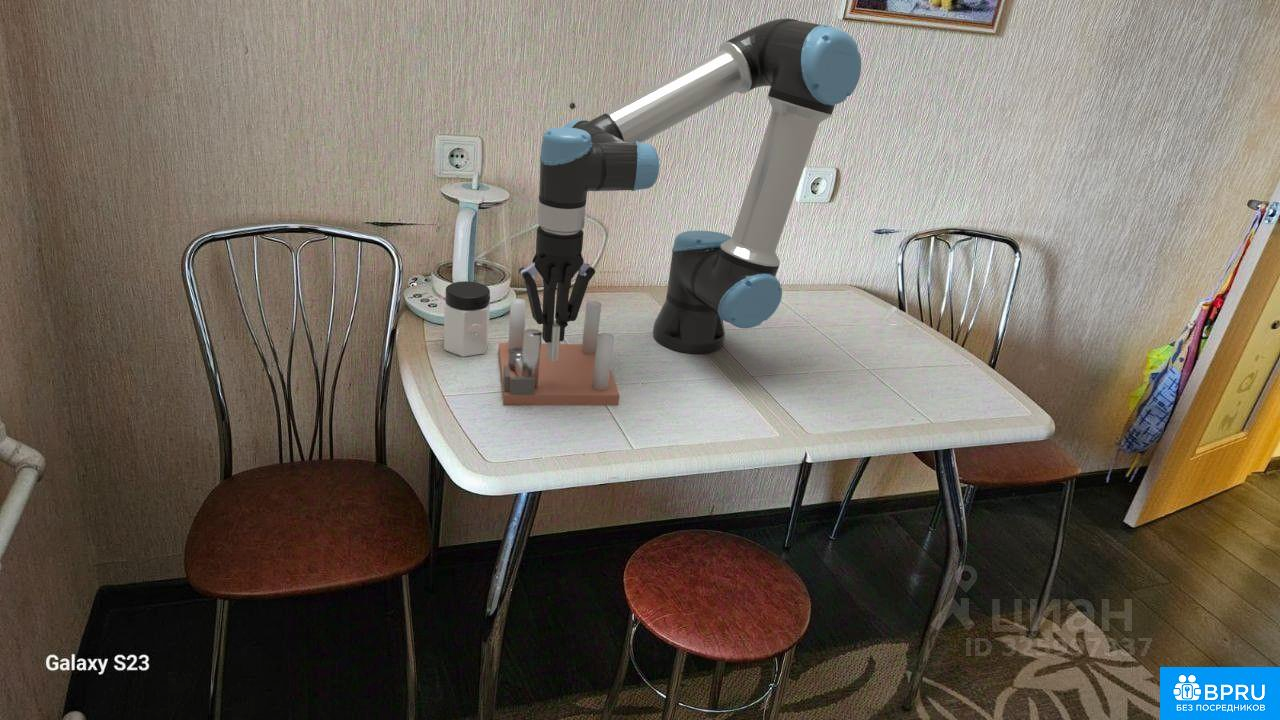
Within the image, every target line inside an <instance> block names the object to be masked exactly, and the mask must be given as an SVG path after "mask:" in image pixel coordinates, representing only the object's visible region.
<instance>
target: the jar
mask: <svg viewBox="0 0 1280 720" xmlns="http://www.w3.org/2000/svg"><path fill="white" fill-rule="evenodd" d="M490 305H491V290H490V288H489V286H486V285H485V284H483V283H480V282H476V281H456V282H453V283H450V284H448V285H447V286H446V287H445V303H444V315H443V316H444V317H443V318H444V319H443V320H444V321H443V323H444V327H443V328H444V329H443V330H444V331H443V333H444V334H443V349H444V350H445V351H446V352H449V353H450V354H451V353H452V354H455V355H458V356H460V357H462V358H464V357H471V356H472V357H473V356H476V355H482V354H483V355H484V354H486V353H487V348H488V345H489V335H490V312H491V311H490V307H491V306H490Z"/></svg>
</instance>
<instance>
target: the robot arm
mask: <svg viewBox="0 0 1280 720" xmlns="http://www.w3.org/2000/svg"><path fill="white" fill-rule="evenodd" d="M861 73H862V54H861V52H860V51H859V49H858V44H857V42H856V41H855V39H854V38H853V37H852V35H850V34H849V33H847V32H846V31H844V30H841V29H839V28H835V27H834V26H832V25H825V24H818V23H813V22H806V21H802V20H799V19H796V18H795V19H794V18H777V19H773V20H770V21H769V20H768V21H767V22H764V23H762V24H758V25H757V26H755V27H752V28H750V29H748V30H746V31H744V32H742V33H739V34H737V35H736V36H734V37H732V38H730V39H729V40H726V41H724V42H723V43H721V44H720V46H719V49H718V52H716V53H714V54H712V55H711V56H709V57H707V58H705V59H703V60H701V61H700V62H698V63H696V64H693V65H692V66H691V67H689V68H687V69H684V70H683V71H681V72H679V73H677V74H676V75H674V76H672V77H670V78H667V79H666V80H665V81H662V82H660V83H659V84H656V85H654V86H652V87H651V88H649V89H648V90H646V91H643V92H642V93H640V94H638V95H636V96H635V97H633V98H630V99H629V100H627V101H625V102H623V103H621V104H619V105H618V106H616V107H614V108H612V109H611V110H608V111H606V112H605V113H603V114H601V115H599V116H597V117H595V118H593V119H591V120H587V119H585V120H584V119H574V120H571V121H569V122H568V123H567V124H565V125H564V126H556V127H551V128H549V129H547V130H545V132H543V133H544V134H543V136H542V141H541V147H540V155H539V162H540V163H539V164H540V166H539V167H540V168H539V193H538V194H539V195H538V207H537V225H538V227H537V229H536V241H535V243H536V244H535V255H534V257H533V259H532V261H531V262H532V263H531V264H530V265H527V267H526V268H525V267H520V268H519V270H518V273H519V275H520V276H521V277H522V279H523V281H524V284H525V288H526V292H527V293H526V294H527V299H528V303H529V306H530V311H531V315H532V319H534V321H535V322H536V323H537V324H538V325H542V332H541V333H542V336H541V338H542V339H543V341H544V342H545V344H547V348H546V355H547V356H548V358H549V359H550V360H551V361H558V350H559V344H560V342H563V341H564V340H565V333H566V332H565V330H566V328H567V327H568V325H569V322H575V321H576V320H577V318H578V315H579V312H580V309H581V307H582V303H583V300H584V298H585V294H586V291H587V288H588V285H589V283H590V281H591V279H593V276H594V275H595V273H596V269H594V267H593V266H592V265H590V264H589V263H586V262H584V257H583V255H582V251H583V243H584V231H583V229H584V227H585V223H586V221H585V218H586V208H587V207H586V205H587V198H588V197H587V196H588V192H608V191H611V192H612V191H614V192H615V191H619V192H620V191H621V192H622V191H632V192H635V191H639V190H647V189H650V188H651V187H653V186H654V185H655V184H656V182H657V180H658V178H659V174H660V158H659V154H658V151H657V150H656V148H655V147H654V145H653V144H651V143H649V142H646V141H648V140H650V139H652V138H654V137H655V136H657V135H659V134H661V133H662V132H664V131H666V130H668V129H670V128H672V127H673V126H676V125H678V124H679V123H681V122H683V121H684V120H686V119H689V118H690V117H692V116H694V115H695V114H698V113H700V112H702V111H703V110H705V109H707V108H709V107H710V106H712V105H714V104H716V103H717V102H720V101H721V100H723V99H725V98H727V97H729V96H731V95H733V94H734V93H739V94H746V93H748V92H750V91H752V90H754V89H757V88H761V87H770V88H769V91H768V95H767V100H768V102H769V104H770V106H771V108H772V109H771V114H770V116H769V120H768V122H767V126H766V129H765V133H764V135H763V138H762V141H761V144H760V148H759V150H758V153H757V157H756V161H755V164H754V166H753V169H752V173H751V175H750V179H749V181H748V185H747V187H746V191H745V195H744V197H743V200H742V203H741V207H740V210H739V212H738V216H737V219H736V223H735V226H734V229H733V231H732V235H731V236H730V235H728V234H726V233H724V232H718V231H711V230H709V231H708V230H687V231H683V232H680V233H679V234H677V235H676V236H675V239H674V242H673V246H672V249H671V253H672V254H671V262H670V268H669V276H668V282H667V289H666V297H665V301H664V302H663V305H662V307H661V309H660V311H659V313H658V314H657V317H656V319H655V321H654V322H653V329H652V335H653V338H654V340H655V341H657V342H658V343H659V344H660V345H662V346H664V347H666V348H669V349H671V350H672V351H673V350H674V351H677V352H681V353H685V354H686V353H687V354H708V353H714V352H717V351H718V350H720V349H722V347H723V346H724V344H725V343H724V342H725V339H726V338H725V337H726V330H725V325H724V321H725V323H729V324H730V325H732V326H733V327H735V328H740V329H751V328H754V327H757V326H760V325H762V323H763V322H764V321H765V322H766V321H767V320H769V319H770V318H771V316H773V315H774V314H775V312H776V311H777V309H778V307H779V305H780V303H781V301H782V297H783V287H781V285H782V284H781V283H780V281H779V280H778V278H777V272H778V270H779V267H780V265H781V261H780V259H779V256H778V255H777V252H776V251H777V248H778V245H779V242H780V239H781V237H782V234H783V230H784V227H785V225H786V222H787V219H788V216H789V213H790V210H791V207H792V204H793V202H794V198H795V196H796V193H797V189H798V187H799V184H800V181H801V178H802V176H803V172H804V169H805V167H806V165H807V161H808V158H809V155H810V152H811V149H812V146H813V145H814V144H813V142H814V141H815V138H816V134H817V132H818V130H819V126H820V124H821V123H822V122H824V121H825V120H827V119H829V118H831V117H832V115H833V112H834V110H835V107H836V105H838V104H840V103H843V102H845V100H847V97H850V96H852V94H853V93H854V91H855V89H856V88H857V86H858V84H859V81H860V78H861ZM536 272H538V274H539V275H540V276H541V278H542V282H543V283H542V284H543V292H542V293H543V297H542V305H541V301H540V295H539V292H538V286H537V283H536V281H535V280H536V278H537V274H536ZM576 275H577V276H576ZM575 276H576V278H575V281H574V284H573V286H572V279H573V278H574V277H575ZM571 287H572V290H571V293H570V289H571Z"/></svg>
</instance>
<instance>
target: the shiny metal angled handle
mask: <svg viewBox="0 0 1280 720" xmlns="http://www.w3.org/2000/svg"><path fill="white" fill-rule="evenodd" d="M542 333H543V332H542V331H541V330H539V329H536V328H527V329H525V330H524V337H523V348H513V349H511V350H509V361H508V366H509V368H510V369H512V370H515V372H516V374H517V375H518V377H535V385H534V388H536V387H537V386H538V378H539V364H540V350H541V344H542Z"/></svg>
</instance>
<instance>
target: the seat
mask: <svg viewBox="0 0 1280 720" xmlns="http://www.w3.org/2000/svg"><path fill="white" fill-rule="evenodd" d="M526 309H527V300H525V299H523V298H517V297H516V298H515V297H514V298H512V299H511V300H510V310H509V311H510V312H509V330H508V342H498V358H499V359H498V361H499V370H500V381H501V390H502V400H503V406H619V403H620V392H619V390H618V386H617V383H616V381H615V379H614V375H613V372H612V370H611V367H612V366H611V365H612V356H613V348H614V338H615V336H614V335H613V334H611V333H609V332H600V333H599V330H600V329H599V328H600V321H601V320H600V319H601V311H602V303H601V302H599V301H598V300H588V301H587V302H586V303H585V313H584V322H583V323H584V324H583V325H584V326H583V332H582V333H583V334H582V335H583V336H582V344H581V343H577V344H576V343H575V344H574V343H559V350H558V361H551V360H550V359H549V358H548V356H547V355H546V348H547V343H541V350H540V364H539V378H538V386H537V387H536V388H534V385H535V377H518V375H517V374H516V372H515V370H512V369H510V368H509V366H508V361H509V350H511V349H513V348H523V337H524V331H525V330H526V327H525V326H526V325H525V324H526V312H527V310H526Z"/></svg>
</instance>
